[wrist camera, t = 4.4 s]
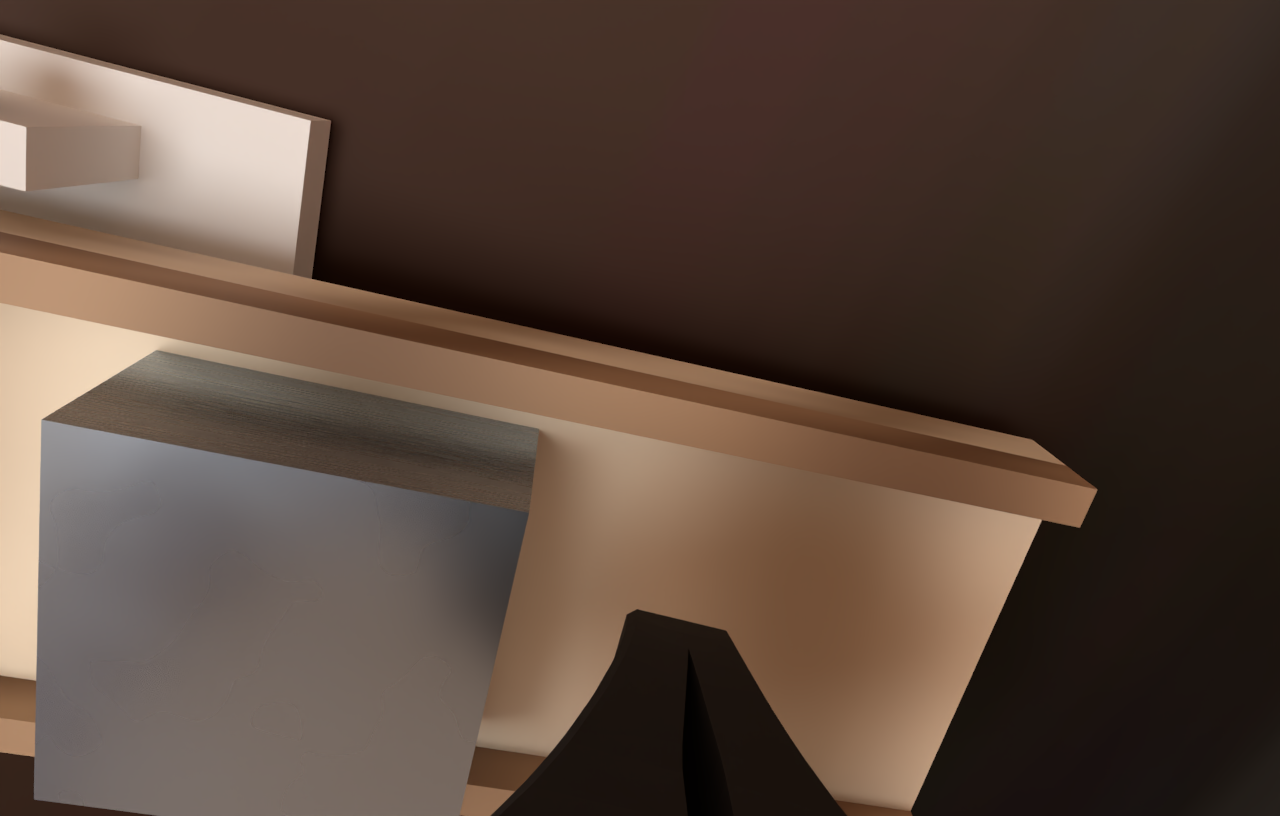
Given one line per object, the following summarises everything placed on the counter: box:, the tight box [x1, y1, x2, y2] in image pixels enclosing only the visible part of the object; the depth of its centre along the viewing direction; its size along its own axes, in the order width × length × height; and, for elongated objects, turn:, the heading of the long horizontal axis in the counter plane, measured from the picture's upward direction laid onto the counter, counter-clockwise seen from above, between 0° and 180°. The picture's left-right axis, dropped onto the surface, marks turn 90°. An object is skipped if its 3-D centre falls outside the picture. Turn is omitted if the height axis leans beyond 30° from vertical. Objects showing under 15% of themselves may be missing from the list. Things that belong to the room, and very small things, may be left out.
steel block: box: [34, 350, 539, 816], centre depth 11 cm, size 5×5×2 cm
